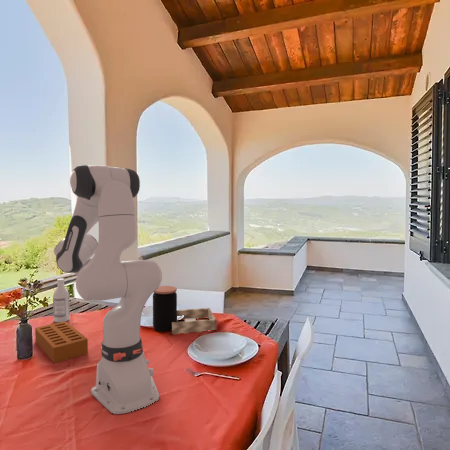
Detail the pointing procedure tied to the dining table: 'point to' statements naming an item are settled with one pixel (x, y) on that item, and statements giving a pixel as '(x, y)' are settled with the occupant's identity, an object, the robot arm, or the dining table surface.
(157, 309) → the coffee jar
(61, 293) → the bath foam
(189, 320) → the tile cream
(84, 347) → the brick
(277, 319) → the dining table surface
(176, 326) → the tray
